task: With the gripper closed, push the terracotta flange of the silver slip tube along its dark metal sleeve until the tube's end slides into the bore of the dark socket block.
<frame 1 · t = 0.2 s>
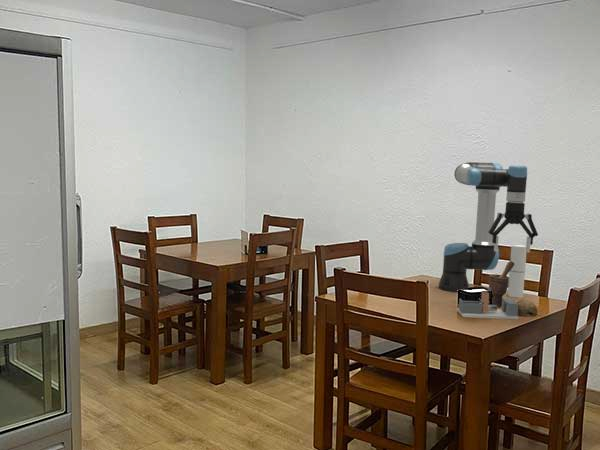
hand: (511, 251, 262), 28 cm above the table, fingers open, 13 cm apart
mortar and pestle: (498, 303, 286), on the table
slip tube: (479, 301, 264), point 6 cm above the table, slide at 0.0 cm
cylindrical container: (515, 296, 303), on the table
guide base: (486, 314, 265), on the table
bread roll: (523, 314, 269), on the table
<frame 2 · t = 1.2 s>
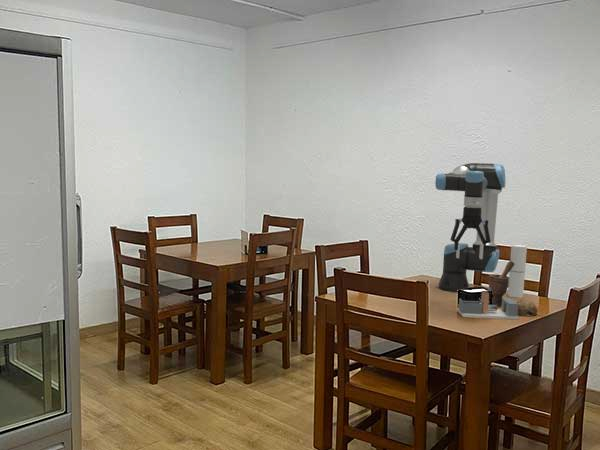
hand: (469, 258, 267), 24 cm above the table, fingers open, 9 cm apart
nothing on the table moved.
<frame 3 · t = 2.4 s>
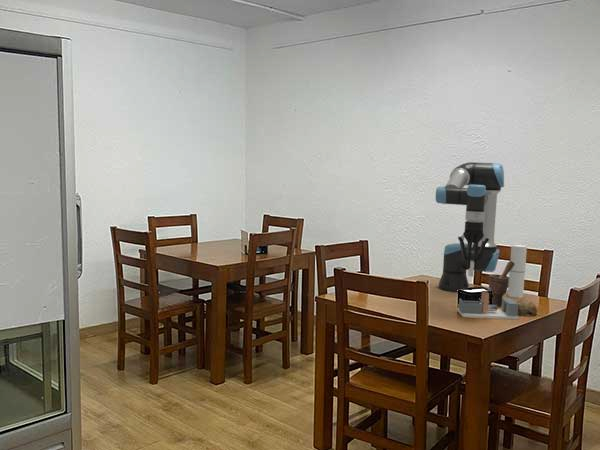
hand: (470, 275, 263), 17 cm above the table, fingers closed
nothing on the table moved.
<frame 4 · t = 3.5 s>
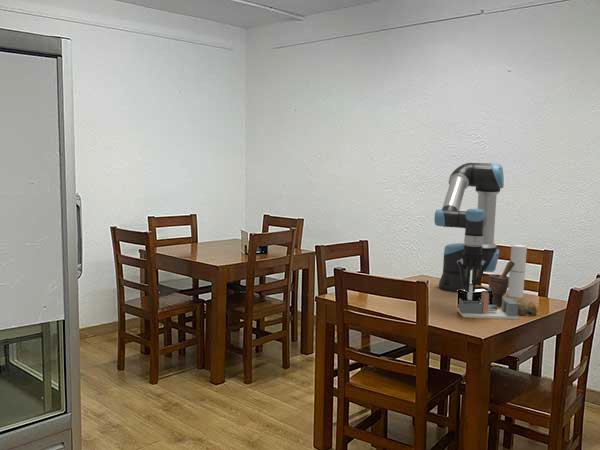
hand: (469, 299, 264), 6 cm above the table, fingers closed
nothing on the table moved.
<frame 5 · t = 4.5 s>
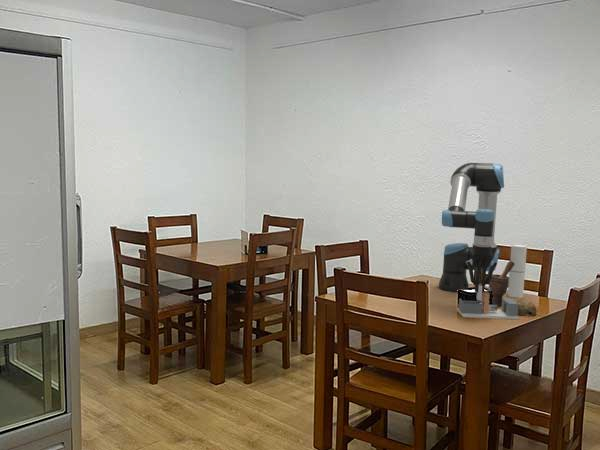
hand: (478, 299, 264), 6 cm above the table, fingers closed
slip tube: (480, 301, 264), point 6 cm above the table, slide at 0.2 cm, touching gripper
everything else where it was.
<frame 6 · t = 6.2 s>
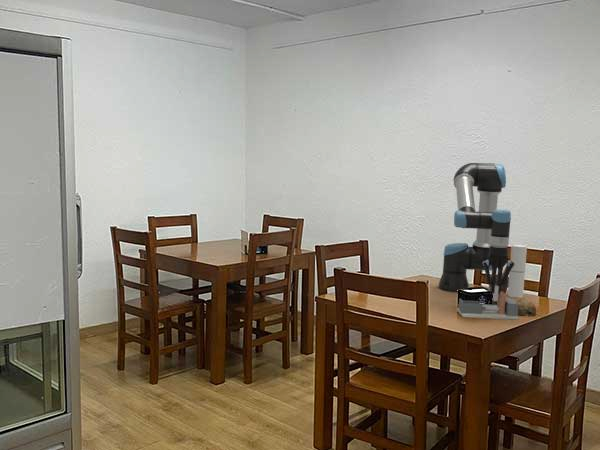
hand: (494, 300, 264), 6 cm above the table, fingers closed
slip tube: (496, 302, 264), point 6 cm above the table, slide at 7.0 cm, touching gripper
everything else where it was.
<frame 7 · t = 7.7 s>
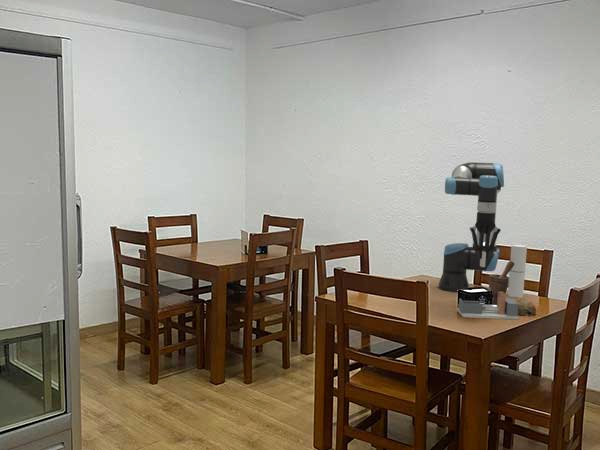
hand: (482, 266, 264), 21 cm above the table, fingers closed
slip tube: (496, 302, 264), point 6 cm above the table, slide at 7.0 cm
everything else where it was.
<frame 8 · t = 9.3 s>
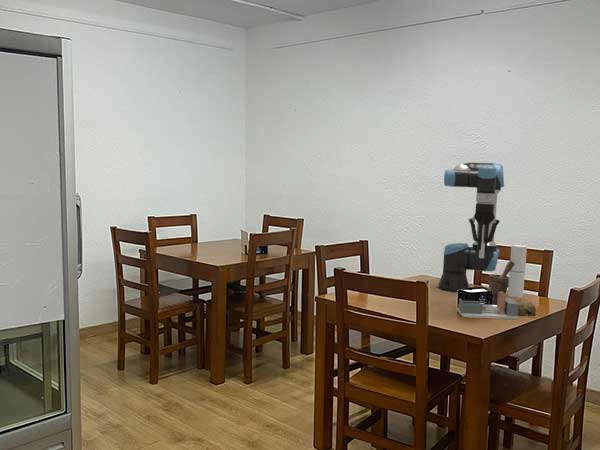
hand: (481, 257, 264), 24 cm above the table, fingers closed
nothing on the table moved.
at the end: slip tube slide at 7.0 cm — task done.
